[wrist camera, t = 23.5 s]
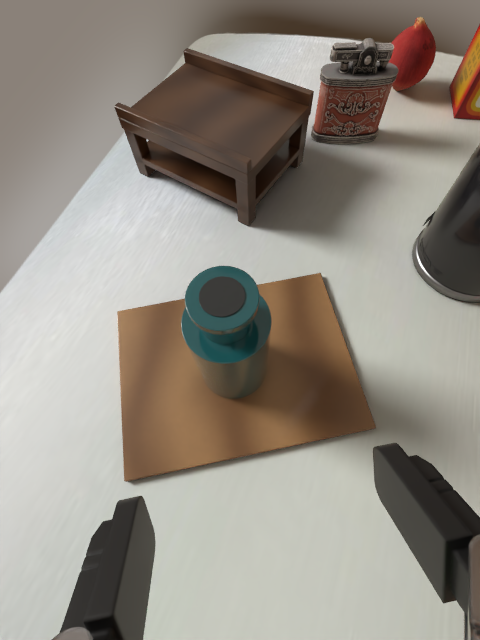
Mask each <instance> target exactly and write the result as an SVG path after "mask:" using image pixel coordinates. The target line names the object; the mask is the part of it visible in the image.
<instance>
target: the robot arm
mask: <svg viewBox="0 0 480 640" xmlns="http://www.w3.org/2000/svg"><path fill="white" fill-rule="evenodd" d="M429 220H430V221H429ZM428 221H429V222H428ZM427 222H428V224H427V226H426V227H425V228H424V229H423V230H422V232H421V233H420V235H419V236H418V238H417V239H416V241H415V243H414V246H413V251H412V256H413V262H414V265H415V267H416V269H417V271H418V273H419V274H420V276H421V277H422V278H423V279H424V281H425V282H426V283H427V284H429V285H430V286H431V287H432V288H434V289H435V290H437V291H438V292H440V293H442V294H444V295H446V296H448V297H451V298H453V299H457V300H461V301H466V302H480V144H479V145H478V147H477V148H476V150H475V151H474V153H473V154H472V156H471V158H470V159H469V161H468V162H467V164H466V165H465V167H464V168H463V170H462V171H461V173H460V175H459V176H458V178H457V179H456V181H455V182H454V184H453V185H452V187H451V188H450V190H449V192H448V193H447V195H446V196H445V198H444V199H443V201H442V202H441V204H440V205H439V207H438V209H437V210H436V211H435V212H434V213H433V214H432V215H431V216H430V217H429V218H428V219H427V220H426V222H425V223H424V225H425V224H426V223H427ZM424 225H423V226H424ZM373 461H374V481H375V487H376V490H377V493H378V496H379V498H380V500H381V502H382V504H383V505H384V507H385V508H386V510H387V512H388V513H389V515H390V517H391V518H392V520H393V522H394V523H395V525H396V526H397V528H398V530H399V531H400V533H401V535H402V536H403V538H404V540H405V541H406V543H407V544H408V546H409V548H410V549H411V551H412V553H413V554H414V556H415V558H416V559H417V561H418V562H419V564H420V566H421V567H422V569H423V571H424V572H425V574H426V576H427V577H428V579H429V581H430V582H431V584H432V585H433V587H434V589H435V590H436V592H437V594H438V595H439V597H440V599H441V600H442V602H443V603H447V602H451V601H455V600H457V602H458V603H459V605H460V606H461V608H462V609H463V611H464V640H480V517H479V516H478V515H477V514H476V513H475V512H474V511H473V510H472V509H471V507H470V506H469V505H468V504H467V503H466V502H465V501H464V500H463V498H462V497H461V496H460V495H459V494H458V493H457V492H456V491H455V490H453V487H452V486H451V485H450V484H449V483H448V482H447V481H446V480H444V478H443V476H442V475H441V474H440V473H439V472H438V471H437V469H436V468H435V467H434V466H433V465H432V464H430V463H429V462H427V461H426V460H424V459H422V458H421V457H419V456H417V455H414V456H410V457H409V456H408V455H407V454H406V453H405V452H404V450H403V449H402V448H401V447H400V446H399V445H398V444H397V443H391V444H386V445H382V446H377V447H374V449H373ZM154 554H155V533H154V529H153V525H152V522H151V519H150V516H149V513H148V510H147V507H146V504H145V501H144V498H143V497H142V496H138V497H133V498H129V499H124V500H119V501H118V503H117V505H116V508H115V512H114V515H113V519H112V520H108V521H103V522H102V524H101V525H100V527H99V528H98V529H97V531H96V532H95V534H94V535H93V536H92V538H91V541H90V544H89V547H88V550H87V553H86V558H85V559H84V562H83V565H82V568H81V569H82V571H81V572H80V574H79V577H78V580H77V583H76V586H75V589H74V592H73V595H72V598H71V601H70V604H69V607H68V610H67V613H66V616H65V619H64V622H63V625H62V628H61V630H60V633H59V634H58V635H57V636H56V637H54V638H53V639H52V640H143V635H144V628H145V620H146V613H147V606H148V598H149V591H150V584H151V576H152V569H153V562H154Z"/></svg>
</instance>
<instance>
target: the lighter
mask: <svg viewBox="0 0 480 640" xmlns="http://www.w3.org/2000/svg"><path fill="white" fill-rule="evenodd" d="M393 50H394V45H393V44H391V43H378V44H376V43H375V42H374V40H373V39H372V38H367V39H365V40H364V41H363V42H362V43H361V44H356V43H335V44H334V45H333V46H332V49H331V55H330V60H331V61H332V62H339V63H332V64H327V65H325V66H323V67H322V69H321V75H320V80H321V85H320V92H319V98H318V104H317V111H316V117H315V123H314V125H313V127H312V133H311V136H312V138H313V140H315V141H317V142H323V143H332V144H351V143H362V142H369V141H373V140H374V139H375V138H376V136H377V133H378V129H379V128H378V125H379V122H380V119H381V116H382V114H383V111H384V108H385V105H386V102H387V99H388V96H389V93H390V90H391V87H392V84H393V82H394V81H395V80H396V77H397V74H398V68H397V66H396V65H394V64H392V63H388V62H389V60H390V59H391V56H392V53H393ZM350 61H351V62H350ZM377 61H379V62H377Z"/></svg>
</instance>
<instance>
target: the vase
mask: <svg viewBox="0 0 480 640" xmlns="http://www.w3.org/2000/svg"><path fill="white" fill-rule="evenodd" d="M185 306H186V307H185V309H184V311H183V314H182V319H181V330H182V335H183V338H184V340H185V342H186V344H187V346H188V349H189V351H190V353H191V355H192V357H193V359H194V361H195V363H196V365H197V367H198V370H199V372H200V374H201V376H202V378H203V380H204V382H205V384H206V385H207V387H208V388H209V389H210V390H211V391H212V392H214V393H215V394H217V395H219V396H221V397H224V398H229V399H238V398H243V397H246V396H248V395H250V394H252V393H254V392H255V391H256V390H257V389H258V388H259V387H260V386H261V385H262V383H263V381H264V380H265V377H266V374H267V368H268V357H269V346H270V336H271V325H272V318H271V312H270V309H269V307H268V305H267V303H266V301H265V300H264V298H263V297H262V296H261V295H260V294H259V290H258V287H257V285H256V283H255V281H254V280H253V279H252V277H251V276H250V275H248V274H247V273H246V272H244V271H243V270H240V269H238V268H235V267H231V266H217V267H212V268H209V269H207V270H205V271H203V272H201V273H200V274H198V275H197V276H196V277H195V278H194V279H193V280H192V281H191V283H190V284H189V286H188V288H187V291H186V294H185Z"/></svg>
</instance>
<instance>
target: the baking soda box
mask: <svg viewBox="0 0 480 640" xmlns="http://www.w3.org/2000/svg"><path fill="white" fill-rule="evenodd" d="M450 94H451V101H452V107H453V114H454V118H462V119H477V120H480V25H479V27H478V29H477V31H476V33H475V35H474V38H473V39H472V42H471V44H470V46H469V48H468V50H467V52H466V54H465V56H464V58H463V60H462V62H461V64H460V66H459V68H458V71H457V73H456V75H455V77H454V79H453V81H452V83H451V85H450Z"/></svg>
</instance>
